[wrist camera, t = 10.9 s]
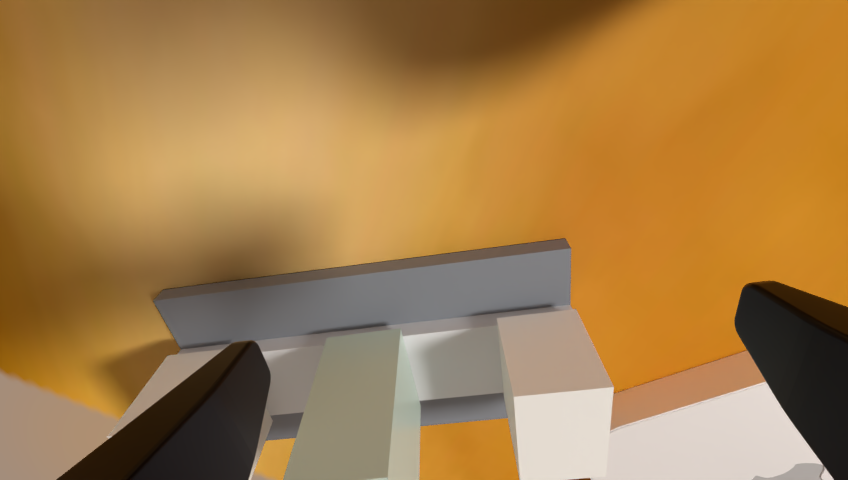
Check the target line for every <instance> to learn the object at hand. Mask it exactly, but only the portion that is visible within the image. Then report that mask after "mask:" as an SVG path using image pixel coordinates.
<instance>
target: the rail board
mask: <svg viewBox="0 0 848 480" xmlns="http://www.w3.org/2000/svg"><path fill="white" fill-rule="evenodd" d="M570 284H571V247H570V246H569V244H568V242H567V241H566V239H557V240H549V241H542V242H534V243H526V244H518V245H510V246H502V247H495V248H487V249H479V250H471V251H463V252H455V253H448V254H440V255H432V256H424V257H416V258H408V259H401V260H393V261H385V262H377V263H369V264H361V265H354V266H346V267H338V268H330V269H322V270H314V271H307V272H299V273H291V274H283V275H275V276H267V277H259V278H252V279H244V280H236V281H228V282H220V283H212V284H205V285H197V286H189V287H181V288H173V289H165V290H162V292H161V293H160V294H159V295H158V296H157V297H156V298H155V299H154V300H153V302H154V304H155V305H156V307H157V309H158V310H159V312H160V314H161V316H162V317H163V319H164V321H165V323H166V324H167V326H168V328H169V330H170V331H171V333H172V335H173V337H174V338H175V340H176V342H177V343H178V345H179V347H180V349H181V350H180V351H179V353H178V354H176V355H168V356H167V357H166V358H165V360H164V361H163V362H162V364H161V365H160V366H159V368H158V369H157V370H156V372H155V373H154V374H153V376H152V377H151V378H150V380H149V381H148V382H147V384H146V385H145V386H144V388H143V389H142V390H141V392H140V393H139V394H138V396H137V397H136V398H135V400H134V401H133V402H132V404H131V405H130V406H129V408H128V409H127V411H126V412H125V413H124V415H123V416H122V417H121V419H120V420H119V421H118V423H117V424H116V425H115V427H114V428H113V429H112V431H111V432H110V433H109V435H108V436H107V437H108V438H111V437H112V436H113V435H114V434H116V433H117V432H118V431H120V430H121V429H122V428H123V427H125V426H126V425H127V424H128V423H130V422H131V421H132V420H134V419H135V418H136V417H137V416H139V415H140V414H141V413H143V412H144V411H145V410H146V409H148V408H149V407H150V406H152V405H153V404H154V403H155V402H157V401H158V400H159V399H161V398H162V397H163V396H164V395H166V394H167V393H168V392H170V391H171V390H172V389H173V388H175V387H176V386H177V385H179V384H180V383H181V382H182V381H184V380H185V379H186V378H188V377H189V376H190V375H191V374H193V373H194V372H195V371H197V370H198V369H199V368H200V367H202V366H203V365H204V364H206V363H207V362H208V361H209V360H211V359H212V358H213V357H215V356H216V355H217V354H218V353H220V352H221V351H222V350H224V349H225V348H226V347H227V346H229V345H230V344H231V343H234V342H238V341H247V340H253V341H255V342H256V343H257V344H258V345H259V347H260V349H261V352H262V354H263V356H264V358H265V360H266V363H267V365H268V367H269V370H270V374H271V382H270V388H269V393H268V398H267V403H266V408H265V412H264V417H263V422H262V427H261V432H260V437H259V442H258V447H257V451H256V455H255V459H254V463H253V466H252V470H251V473H250V476H249V480H251V478H252V475H253V473H254V470H255V467H256V465H257V462H258V459H259V457H260V454H261V451H262V449H263V446H264V443H265V441H267V440H277V439H288V438H296V436H297V433H298V430H299V427H300V423H301V420H302V417H303V414H304V410H305V407H306V404H307V401H308V397H309V394H310V391H311V388H312V384H313V381H314V378H315V375H316V371H317V368H318V365H319V362H320V358H321V355H322V352H323V349H324V345H325V342H326V339H327V338H328V337H336V336H344V335H352V334H360V333H367V332H375V331H383V330H391V329H399V328H401V331H402V335H403V339H404V343H405V347H406V351H407V355H408V358H409V362H410V366H411V370H412V374H413V378H414V382H415V386H416V390H417V393H418V397H419V401H420V405H421V418H420V426H427V425H437V424H448V423H459V422H469V421H480V420H491V419H501V418H508V422H509V427H510V432H511V437H512V443H513V448H514V453H515V458H516V464H517V469H518V474H519V479H520V480H570V479H582V478H594V477H606V472H607V461H608V449H609V437H610V425H611V414H612V402H613V390H614V386H613V384H612V382H611V380H610V378H609V376H608V374H607V372H606V370H605V368H604V366H603V364H602V362H601V360H600V358H599V355H598V353H597V351H596V349H595V347H594V345H593V343H592V341H591V339H590V337H589V335H588V333H587V331H586V329H585V326H584V324H583V322H582V320H581V318H580V316H579V314H578V312H577V310H576V309H572V307H571V305H570Z"/></svg>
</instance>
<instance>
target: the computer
mask: <svg viewBox="0 0 848 480" xmlns="http://www.w3.org/2000/svg"><path fill="white" fill-rule="evenodd" d="M590 479H591V480H834V479H833V478H832V476H831V475H830V474H829V472H828V471H827V470H826V468H825V467H824V466H823V464H822V463H821V461H820V460H819V459H818V457H817V456H816V455H815V453H814V452H813V451H812V449H811V448H810V446H809V445H808V444H807V442H806V441H805V440H804V438H803V437H802V436H801V434H800V433H799V432H798V430H797V429H796V427H795V426H794V425H793V423H792V422H791V420H790V419H789V418H788V416H787V415H786V413H785V412H784V410H783V409H782V407H781V406H780V404H779V402H778V401H777V399H776V398H775V396H774V394H773V393H772V391H771V389H770V388H769V386H768V384H767V382H766V381H765V379H764V377H763V376H762V374H761V372H760V371H759V369H758V367H757V366H756V364H755V362H754V360H753V359H752V357H751V355H750V354H749V352H748V350H747V351H744V352H741V353H738V354H735V355H732V356H729V357H725V358H722V359H719V360H716V361H713V362H710V363H707V364H704V365H701V366H698V367H695V368H692V369H689V370H686V371H682V372H679V373H676V374H673V375H670V376H667V377H664V378H661V379H658V380H655V381H652V382H649V383H646V384H642V385H639V386H636V387H633V388H630V389H627V390H624V391H621V392H618V393H615V394H613V402H612V414H611V425H610V437H609V449H608V461H607V472H606V477H594V478H590Z"/></svg>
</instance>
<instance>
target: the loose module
mask: <svg viewBox="0 0 848 480" xmlns="http://www.w3.org/2000/svg"><path fill="white" fill-rule="evenodd" d="M420 418H421V405H420V401H419V397H418V393H417V390H416V386H415V382H414V378H413V374H412V370H411V366H410V362H409V358H408V355H407V351H406V347H405V343H404V339H403V335H402V331H401V328H399V329H391V330H383V331H375V332H367V333H360V334H352V335H344V336H336V337H328V338H327V339H326V342H325V345H324V349H323V352H322V355H321V358H320V362H319V365H318V368H317V371H316V375H315V378H314V381H313V384H312V388H311V391H310V394H309V397H308V401H307V404H306V407H305V410H304V414H303V417H302V420H301V423H300V427H299V430H298V433H297V436H296V439H295V443H294V446H293V449H292V452H291V456H290V459H289V462H288V465H287V469H286V472H285V475H284V478H283V480H419V465H420Z"/></svg>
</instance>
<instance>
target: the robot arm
mask: <svg viewBox="0 0 848 480" xmlns="http://www.w3.org/2000/svg"><path fill="white" fill-rule="evenodd" d="M735 328H736V331H737V333H738V335H739V337H740V338H741V340H742V342H743V344H744V345H745V347H746V349H747V350H748V352H749V354H750V355H751V357H752V359H753V360H754V362H755V364H756V366H757V367H758V369H759V371H760V372H761V374H762V376H763V377H764V379H765V381H766V382H767V384H768V386H769V388H770V389H771V391H772V393H773V394H774V396H775V398H776V399H777V401H778V402H779V404H780V406H781V407H782V409H783V410H784V412H785V413H786V415H787V416H788V418H789V419H790V420H791V422H792V423H793V425H794V426H795V427H796V429H797V430H798V432H799V433H800V434H801V436H802V437H803V438H804V440H805V441H806V442H807V444H808V445H809V446H810V448H811V449H812V451H813V452H814V453H815V455H816V456H817V457H818V459H819V460H820V461H821V463H822V464H823V466H824V467H825V468H826V470H827V471H828V472H829V474H830V475H831V476H832V478H833V479H834V480H848V307H846V306H843V305H840V304H838V303H835V302H832V301H829V300H826V299H824V298H821V297H818V296H815V295H812V294H810V293H807V292H804V291H801V290H798V289H795V288H793V287H790V286H787V285H784V284H781V283H779V282H776V281H762V282H753V283H749V284H746V285H745V286H744V287H743V289H742V292H741V296H740V300H739V304H738V308H737V312H736V316H735ZM270 382H271V374H270V370H269V367H268V365H267V363H266V360H265V358H264V356H263V354H262V352H261V349H260V347H259V345H258V344H257V343H256V342H255V341H253V340H247V341H238V342H234V343H231V344H230V345H229V346H227V347H226V348H225V349H224V350H222V351H221V352H220V353H218V354H217V355H216V356H215V357H213V358H212V359H211V360H209V361H208V362H207V363H206V364H204V365H203V366H202V367H200V368H199V369H198V370H197V371H195V372H194V373H193V374H191V375H190V376H189V377H188V378H186V379H185V380H184V381H182V382H181V383H180V384H179V385H177V386H176V387H175V388H173V389H172V390H171V391H170V392H168V393H167V394H166V395H164V396H163V397H162V398H161V399H159V400H158V401H157V402H155V403H154V404H153V405H152V406H150V407H149V408H148V409H146V410H145V411H144V412H143V413H141V414H140V415H139V416H137V417H136V418H135V419H134V420H132V421H131V422H130V423H128V424H127V425H126V426H125V427H123V428H122V429H121V430H120V431H118V432H117V433H116V434H114V435H113V436H112V437H111V438H109V439H108V440H107V441H106V442H104V443H103V444H102V445H100V446H99V447H98V448H96V449H95V450H94V451H93V452H91V453H90V454H89V455H87V456H86V457H85V458H84V459H82V460H81V461H80V462H78V463H77V464H76V465H75V466H73V467H72V468H71V469H70V470H68V471H67V472H66V473H65V474H63V475H62V476H61V477H59V478H58V479H57V480H249V476H250V473H251V470H252V466H253V463H254V459H255V455H256V451H257V447H258V442H259V437H260V432H261V427H262V422H263V417H264V412H265V408H266V403H267V398H268V393H269V388H270Z"/></svg>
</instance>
